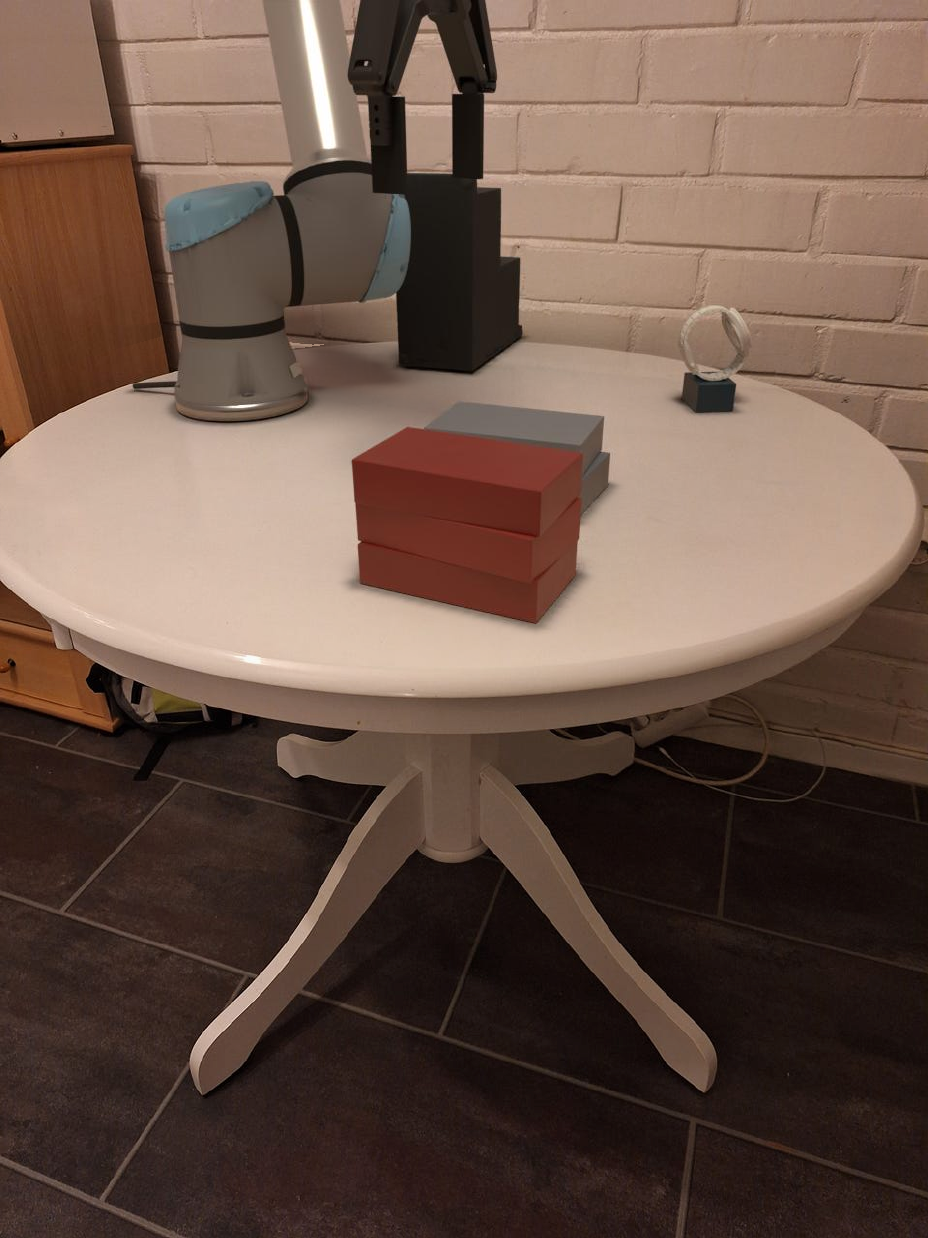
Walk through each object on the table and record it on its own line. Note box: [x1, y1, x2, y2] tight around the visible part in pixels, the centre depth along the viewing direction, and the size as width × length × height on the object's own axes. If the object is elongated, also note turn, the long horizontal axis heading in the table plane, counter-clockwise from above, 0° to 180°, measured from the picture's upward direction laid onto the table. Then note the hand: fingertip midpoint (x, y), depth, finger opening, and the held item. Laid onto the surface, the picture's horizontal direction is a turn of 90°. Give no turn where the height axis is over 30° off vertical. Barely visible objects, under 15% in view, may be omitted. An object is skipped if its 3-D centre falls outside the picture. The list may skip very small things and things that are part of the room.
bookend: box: [395, 172, 523, 372], centre depth 123 cm, size 23×11×24 cm, turn 160°
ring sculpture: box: [677, 304, 754, 413], centre depth 103 cm, size 6×8×11 cm
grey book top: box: [423, 400, 605, 476], centre depth 81 cm, size 14×8×3 cm, turn 69°
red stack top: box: [354, 498, 582, 583], centre depth 65 cm, size 14×8×3 cm, turn 60°
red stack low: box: [357, 540, 579, 624], centre depth 67 cm, size 14×8×3 cm, turn 64°
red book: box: [351, 426, 583, 537], centre depth 63 cm, size 14×8×3 cm, turn 64°
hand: (431, 185), depth 76 cm, fingers open, 13 cm apart
